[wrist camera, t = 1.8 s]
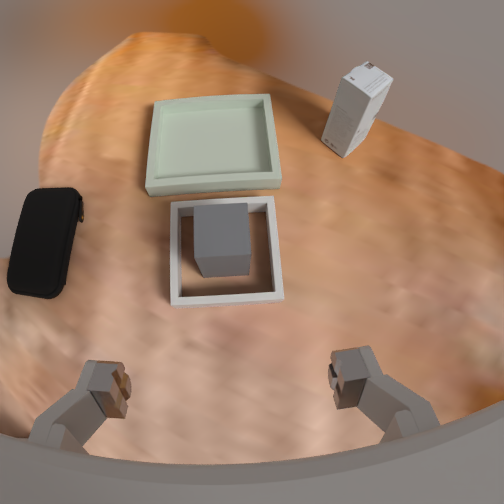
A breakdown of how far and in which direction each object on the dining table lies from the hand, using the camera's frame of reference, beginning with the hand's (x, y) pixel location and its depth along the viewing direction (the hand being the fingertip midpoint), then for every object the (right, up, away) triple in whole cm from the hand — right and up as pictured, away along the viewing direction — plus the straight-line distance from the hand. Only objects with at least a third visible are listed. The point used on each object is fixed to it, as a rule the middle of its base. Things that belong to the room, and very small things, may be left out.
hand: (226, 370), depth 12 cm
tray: (-4, +18, +29) cm, 35 cm away
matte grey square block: (-2, +4, +25) cm, 26 cm away
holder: (-2, +4, +25) cm, 25 cm away
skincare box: (+14, +20, +31) cm, 39 cm away
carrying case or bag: (-25, +5, +25) cm, 36 cm away
